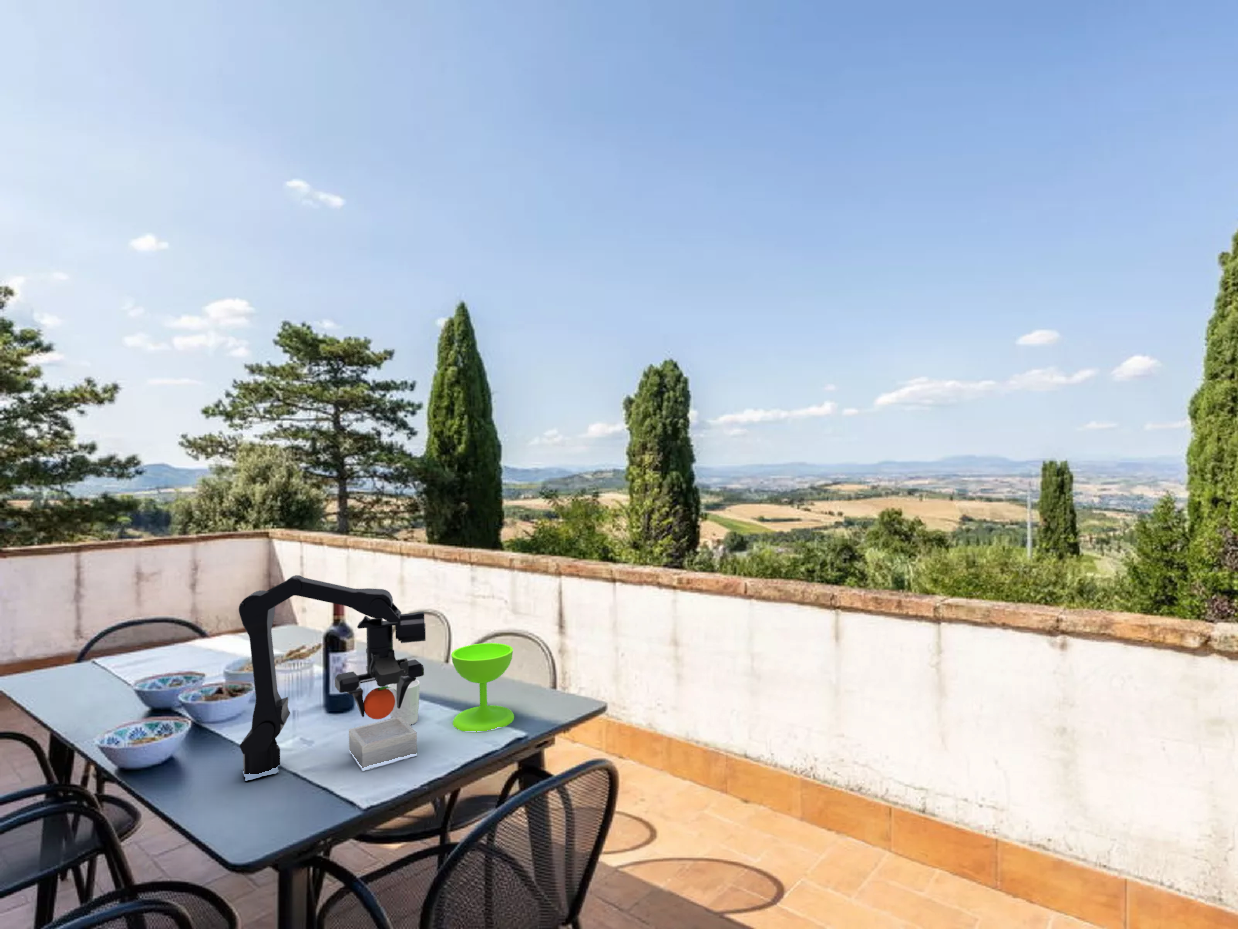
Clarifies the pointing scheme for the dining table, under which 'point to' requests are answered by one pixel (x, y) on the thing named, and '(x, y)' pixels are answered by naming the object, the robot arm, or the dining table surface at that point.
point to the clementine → (379, 703)
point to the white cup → (407, 703)
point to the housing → (382, 741)
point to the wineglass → (482, 684)
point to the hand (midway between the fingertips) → (381, 712)
